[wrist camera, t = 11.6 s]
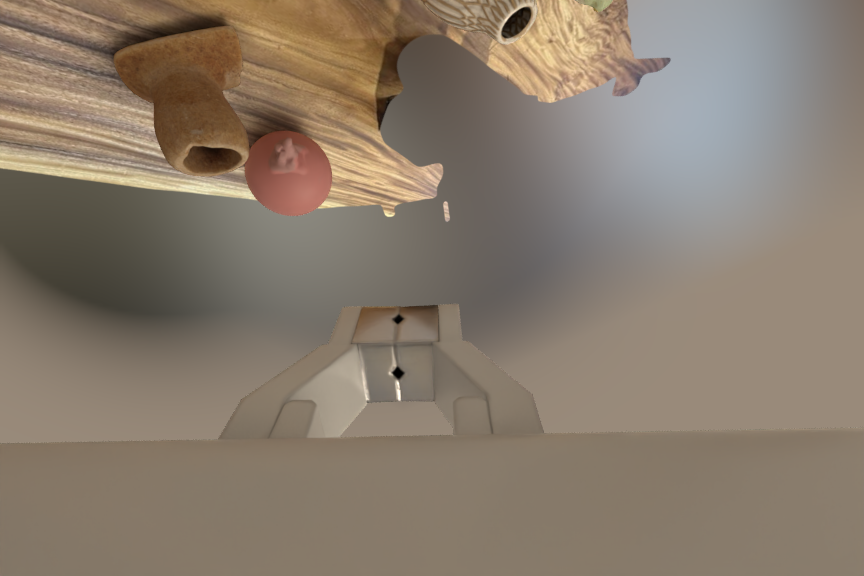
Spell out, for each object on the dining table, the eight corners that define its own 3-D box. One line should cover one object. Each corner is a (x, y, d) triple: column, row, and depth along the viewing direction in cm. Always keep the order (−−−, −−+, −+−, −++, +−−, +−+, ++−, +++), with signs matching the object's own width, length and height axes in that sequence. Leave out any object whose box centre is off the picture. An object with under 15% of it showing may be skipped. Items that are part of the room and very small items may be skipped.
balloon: (314, 84, 66) (352, 158, 63) (312, 157, 84) (341, 217, 81) (219, 98, 59) (256, 180, 57) (238, 174, 77) (267, 239, 75)
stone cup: (147, 110, 56) (183, 196, 53) (94, 37, 44) (136, 143, 42) (252, 84, 60) (289, 163, 57) (227, 12, 49) (273, 107, 46)
